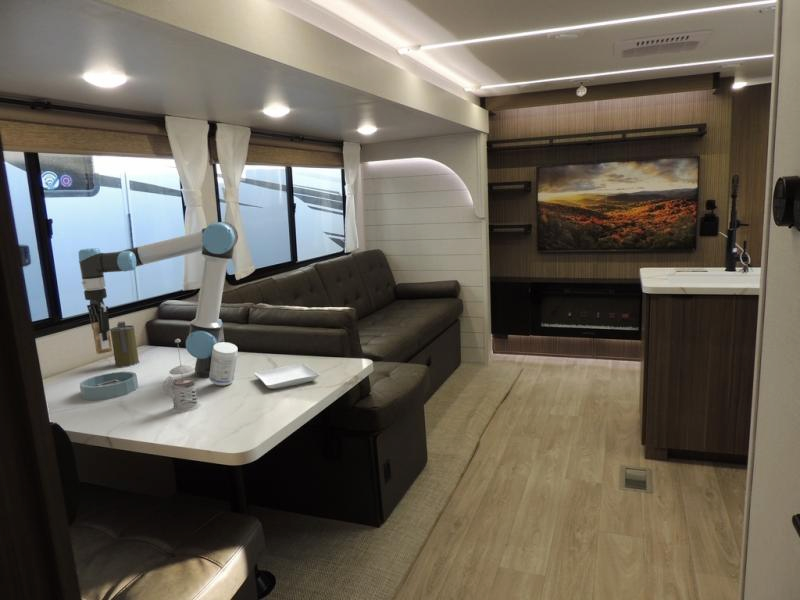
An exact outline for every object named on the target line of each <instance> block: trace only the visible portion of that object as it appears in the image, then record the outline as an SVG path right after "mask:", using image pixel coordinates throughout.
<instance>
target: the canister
mask: <svg viewBox="0 0 800 600" xmlns="http://www.w3.org/2000/svg"><path fill="white" fill-rule="evenodd" d="M109 332H110V339H111V345H112V352H113V357H114V366H115V367H116V366H117V367H116V368H123V367H122V366H127V367H131V366H130V365H133V366H135V365H134V364H136V365H138V364H139V363H140V360H139V353H138V345H137V340H136V339H137V338H136V332H135V325H127V324H126V321H118V322H117V325H116V326H115V327H112V328H110V330H109ZM137 363H138V364H137Z"/></svg>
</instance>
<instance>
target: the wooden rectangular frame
mask: <svg viewBox="0 0 800 600" xmlns="http://www.w3.org/2000/svg"><path fill="white" fill-rule="evenodd" d="M92 327H93V329H92V333H93V339H94V345H95V352H96V354H98V355H100V354H106V353H109V352H113V345H112V339H111V332H110V330H109V331H108V332H107V335H108V342H109V348H107V349H101V342H100V336H99V333H98V332H100V329H99V324H98V322H96V323H92V325H91V328H92Z"/></svg>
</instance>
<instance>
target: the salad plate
mask: <svg viewBox="0 0 800 600" xmlns="http://www.w3.org/2000/svg"><path fill="white" fill-rule="evenodd" d="M254 376H255V377H256V378H258V379H259V380H260V382H262V383H263V384H264V385H265V386H266V388H269V389H270V390H271V389H272V390H273V389H275V390H276V389H282V388H287V387H288V388H289V387H293V386H297V385H303V384H307V383H309V382H311V381H314V380H316V379H318V378H319V376H320V373H319V372H318V371H315V370H314V369H313V368H311V367H310V366H309V365H307V364H306V363H299V364H298V363H297V364H294V365H293V364H292V365H287V366H280V367H276V368H270V369H267V370H262V371H257V372H254Z"/></svg>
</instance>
